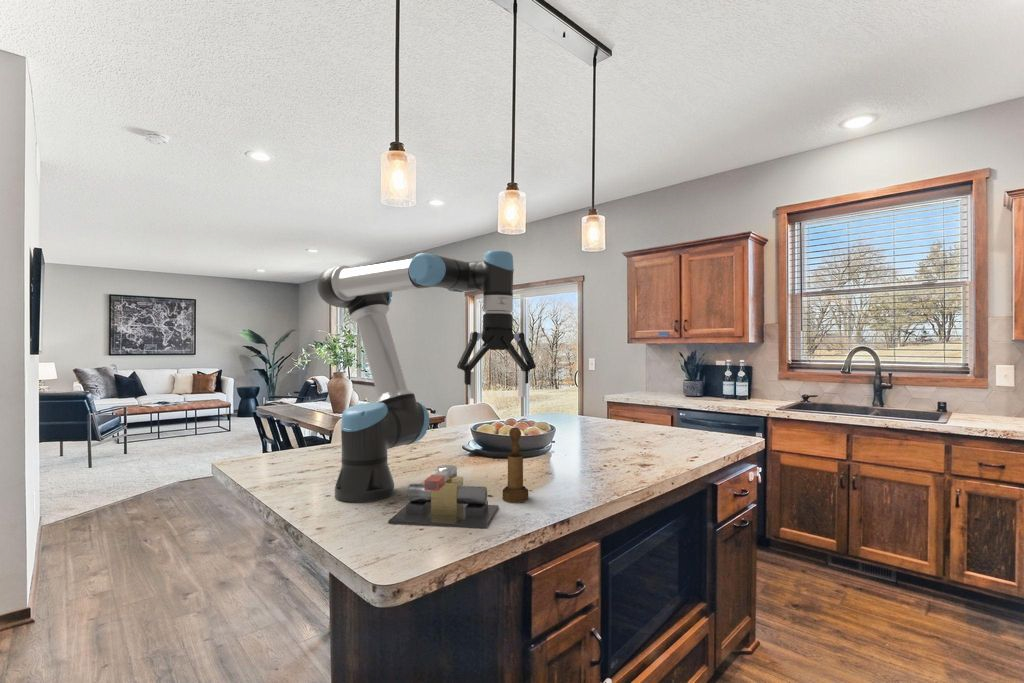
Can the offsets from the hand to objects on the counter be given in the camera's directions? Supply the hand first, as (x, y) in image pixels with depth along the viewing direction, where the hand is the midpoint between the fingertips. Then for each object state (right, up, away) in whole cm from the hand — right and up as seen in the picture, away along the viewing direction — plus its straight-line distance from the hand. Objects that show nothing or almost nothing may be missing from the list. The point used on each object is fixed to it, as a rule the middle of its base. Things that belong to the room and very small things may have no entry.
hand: (496, 397), depth 129 cm
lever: (-12, -17, -15) cm, 26 cm away
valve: (-11, -26, -12) cm, 30 cm away
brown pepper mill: (+5, -26, 0) cm, 26 cm away
